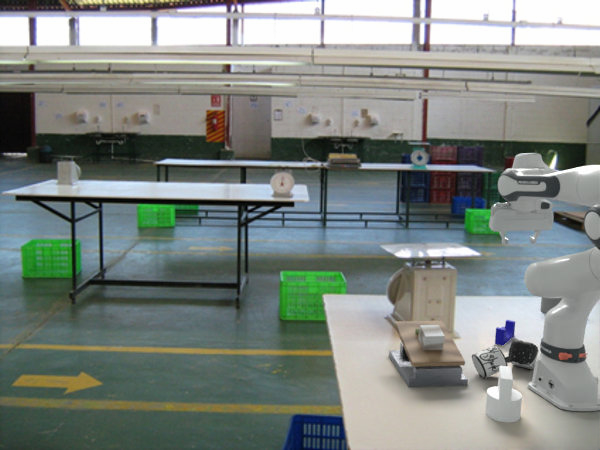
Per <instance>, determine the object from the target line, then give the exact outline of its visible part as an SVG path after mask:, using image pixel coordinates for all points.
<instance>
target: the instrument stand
mask: <svg viewBox="0 0 600 450" xmlns="http://www.w3.org/2000/svg"><path fill="white" fill-rule="evenodd" d="M399 347H400V349H394V350H391V349H389V352H388V357H389V358H390V360H391V361H392V363H393V364H394V366H395V368H396V369H397V371H398V374H400V377H402V379H403V381H404V382H405V384H406V385H407V387H408V388H429V387H430V388H431V387H435V388H436V387H459V386H460V387H461V386H462V387H463V386H468V380H469V379H468V377H467V376H466V375H465V374H464V373H463V368H462V367H463V366H462V365H459V366H420V367H412V365H411V363H410V361H409V358H408V356H407V354H406V351H405V349H404V346H403V344H402V342H400V345H399Z"/></svg>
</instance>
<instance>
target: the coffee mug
mask: <svg viewBox="0 0 600 450" xmlns="http://www.w3.org/2000/svg"><path fill="white" fill-rule="evenodd" d="M540 298H541V300H540V301H541V302H540V310H539V311H540V312H541V313H543V314H545V315H546V314H547V312H548V311H549V310H550V309H552V308H554V307H555V306H557V305H558V304H559V303H560V301H561V300H562V298H544V297H540Z"/></svg>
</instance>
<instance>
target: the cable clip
mask: <svg viewBox="0 0 600 450" xmlns="http://www.w3.org/2000/svg"><path fill="white" fill-rule="evenodd" d="M515 328H516V321H514V320H511V319H506V320H505V325H504V326H501V327H496V328H495V336H494V337H495V338H494V345H497V346H502V345H504V344H505V343H506V344H507V343H508V342H510V341H511V340H513V339H514V337H515V333H516V332H515ZM510 339H511V340H510ZM506 344H505V345H506ZM505 345H504V346H505Z"/></svg>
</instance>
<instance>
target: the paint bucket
mask: <svg viewBox="0 0 600 450" xmlns="http://www.w3.org/2000/svg"><path fill="white" fill-rule="evenodd" d="M539 351H540V349H539V348H538V346H537V344H534V343H533V342H530V341H524V340H520V339H516V338H512V339H511V343H510V346H509V350H508V356H506V357H505V354H504V353H503V351H502V349H501V348H500V347H499V345H497V344H493V345H491V346H490V347H486V348H485V349H482V350H480V351H478V352H476V353H474V354H472V355H471V360H472V364H473V366H474V368H475V370H476V371H477V373H478V374H479V376H480V377H481V378H482V379H486V378H488V377H491V376H493V375H494V374H497V373H499V366H508V364H509V363H510V364H511V365H513V366H517V367H520V368H524V369H528V370H533V371H534V367H535V362H536V360H537V359H538V355H539Z"/></svg>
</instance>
